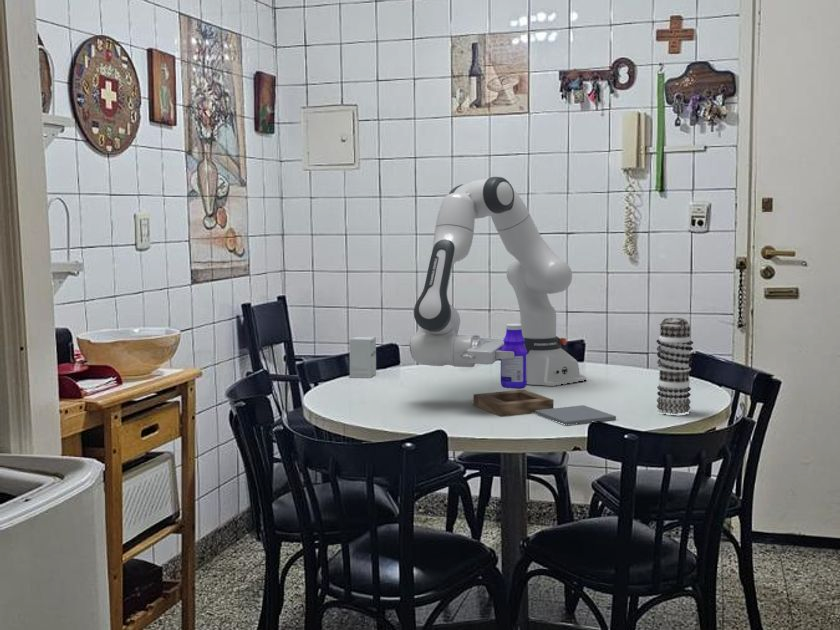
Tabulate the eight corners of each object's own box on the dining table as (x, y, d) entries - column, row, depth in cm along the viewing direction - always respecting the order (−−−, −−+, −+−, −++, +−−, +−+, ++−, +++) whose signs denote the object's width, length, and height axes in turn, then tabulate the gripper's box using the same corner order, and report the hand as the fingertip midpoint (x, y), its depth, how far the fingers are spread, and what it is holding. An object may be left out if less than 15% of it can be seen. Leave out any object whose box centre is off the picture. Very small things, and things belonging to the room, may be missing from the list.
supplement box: (371, 378, 305) (370, 339, 303) (349, 377, 306) (348, 339, 305) (376, 374, 312) (376, 336, 311) (355, 373, 313) (354, 336, 312)
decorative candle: (685, 418, 243) (688, 321, 240) (650, 414, 248) (652, 319, 245) (696, 411, 251) (698, 317, 248) (661, 407, 255) (663, 316, 253)
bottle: (529, 386, 259) (529, 323, 256) (525, 390, 253) (524, 325, 251) (503, 384, 261) (503, 322, 259) (498, 389, 256) (497, 325, 253)
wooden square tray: (524, 399, 268) (524, 389, 268) (553, 410, 253) (553, 399, 253) (473, 404, 262) (473, 394, 261) (500, 416, 247) (500, 405, 247)
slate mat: (583, 408, 255) (583, 405, 255) (615, 419, 241) (615, 416, 241) (535, 414, 249) (535, 410, 249) (565, 425, 236) (565, 421, 236)
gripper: (457, 345, 249) (509, 346, 245) (475, 334, 269) (523, 335, 265) (458, 369, 250) (509, 370, 246) (476, 356, 270) (523, 357, 266)
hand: (517, 352), depth 256 cm, fingers closed on bottle, 6 cm apart
